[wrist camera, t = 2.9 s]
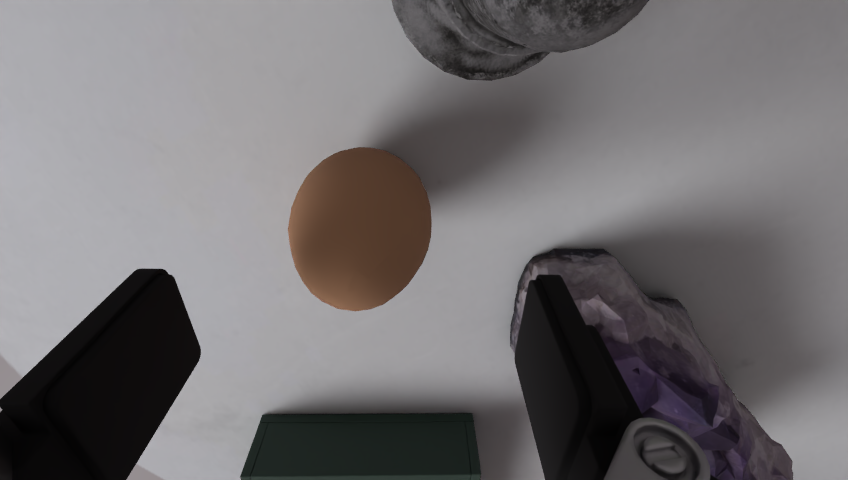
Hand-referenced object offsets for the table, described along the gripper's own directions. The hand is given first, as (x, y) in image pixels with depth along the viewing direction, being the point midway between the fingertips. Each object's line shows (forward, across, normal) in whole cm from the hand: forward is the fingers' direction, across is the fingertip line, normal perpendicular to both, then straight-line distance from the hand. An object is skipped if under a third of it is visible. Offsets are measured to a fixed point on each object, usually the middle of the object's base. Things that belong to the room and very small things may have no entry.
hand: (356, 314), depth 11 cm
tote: (+9, +2, +24) cm, 26 cm away
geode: (+9, -14, +12) cm, 20 cm away
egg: (+9, 0, 0) cm, 9 cm away
